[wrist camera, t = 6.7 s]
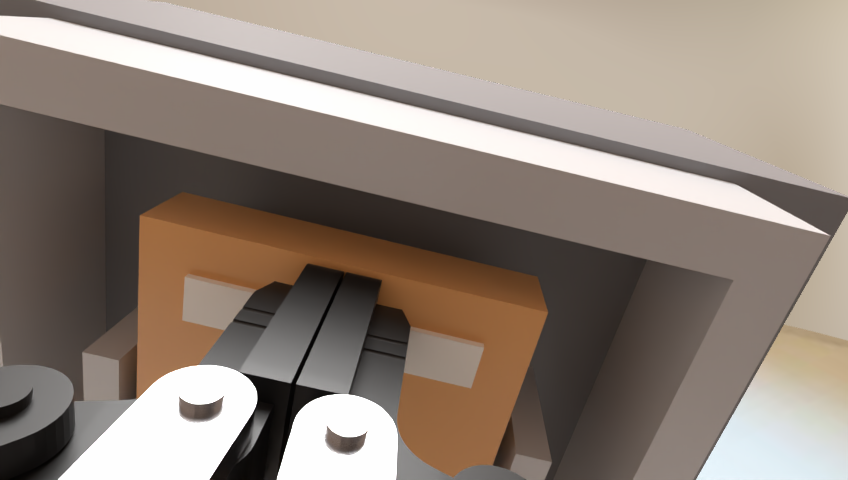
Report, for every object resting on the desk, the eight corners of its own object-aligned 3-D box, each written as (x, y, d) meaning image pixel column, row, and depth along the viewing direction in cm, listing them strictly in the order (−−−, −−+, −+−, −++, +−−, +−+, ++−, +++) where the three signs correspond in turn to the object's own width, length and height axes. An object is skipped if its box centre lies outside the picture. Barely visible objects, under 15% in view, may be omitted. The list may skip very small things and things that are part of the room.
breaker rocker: (437, 577, 15) (541, 277, 11) (434, 642, 14) (554, 317, 10) (162, 513, 15) (177, 191, 11) (126, 571, 13) (130, 216, 10)
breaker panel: (551, 455, 28) (686, 129, 21) (619, 791, 16) (996, 258, 9) (154, 361, 28) (166, 2, 21) (-102, 627, 15) (-268, -49, 9)
